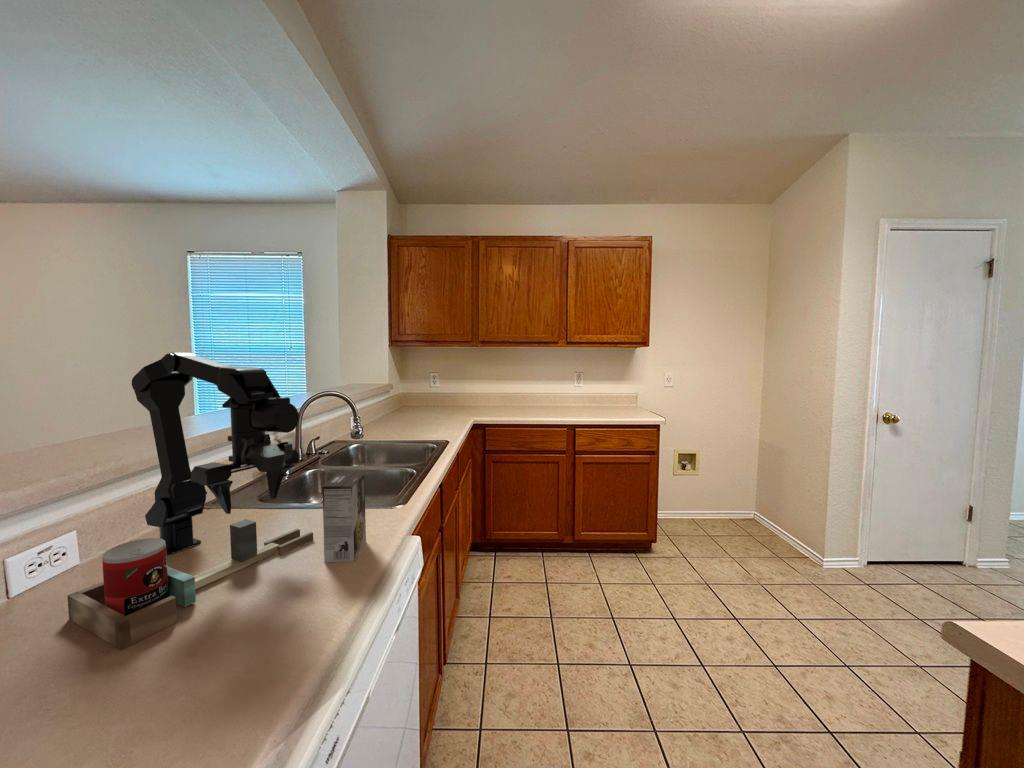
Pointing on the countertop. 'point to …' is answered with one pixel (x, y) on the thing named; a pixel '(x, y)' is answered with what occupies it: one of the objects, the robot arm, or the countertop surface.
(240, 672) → the countertop surface
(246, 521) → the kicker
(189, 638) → the countertop surface
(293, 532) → the guide
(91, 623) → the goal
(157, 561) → the canned food
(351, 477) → the coffee box
